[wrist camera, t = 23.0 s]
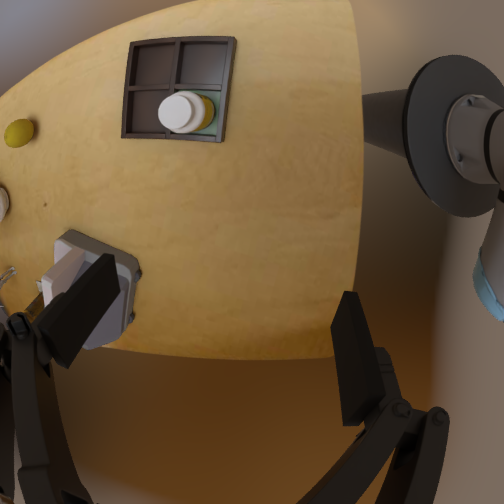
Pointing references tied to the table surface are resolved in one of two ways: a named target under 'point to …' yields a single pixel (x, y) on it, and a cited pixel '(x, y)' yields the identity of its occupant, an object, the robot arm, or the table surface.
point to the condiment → (35, 305)
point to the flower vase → (3, 203)
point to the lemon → (18, 133)
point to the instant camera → (75, 264)
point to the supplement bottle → (186, 112)
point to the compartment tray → (176, 83)
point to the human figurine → (1, 282)
